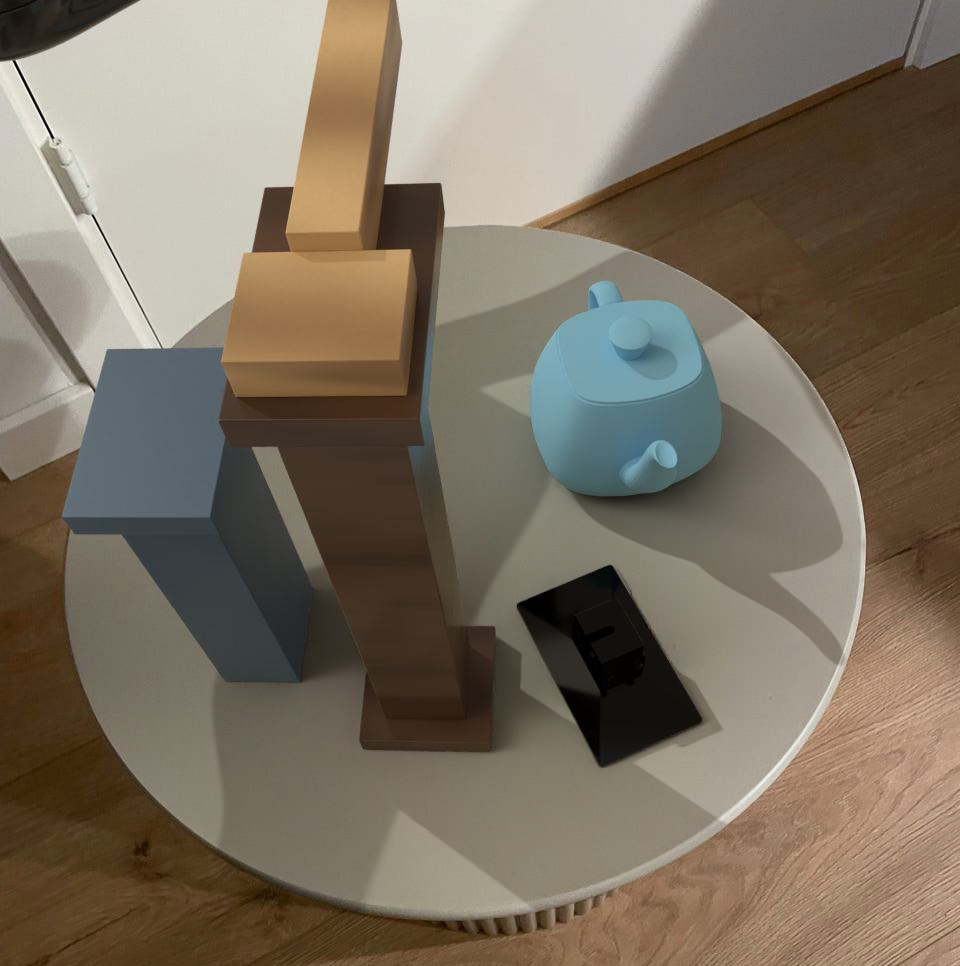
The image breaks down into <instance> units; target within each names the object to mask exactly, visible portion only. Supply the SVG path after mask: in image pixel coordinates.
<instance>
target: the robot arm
mask: <svg viewBox="0 0 960 966" xmlns="http://www.w3.org/2000/svg"><path fill="white" fill-rule="evenodd" d="M140 1H141V0H0V63H5V62H13V61H19V60H23V59H26V58H30V57H32V56H35V55H38V54H41V53H44V52H47V51H49V50H51V49H54V48H56V47H58V46H60V45H62V44H64V43H66V42H68V41H70V40H72V39H74V38H76V37H78V36H80V35H82V34H83V33H85V32H87V31H89V30H91V29H92V28H93V27H96V26H98V25H99V24H101V23H103V22H105V21H106V20H108V19H110V18H111V17H114V16H116V15H117V14H119V13H121V12H123V11H124V10H126V9H127V8H129V7H131V6H133V5H135V4H137V3H139V2H140Z"/></svg>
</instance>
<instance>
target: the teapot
mask: <svg viewBox="0 0 960 966" xmlns="http://www.w3.org/2000/svg"><path fill="white" fill-rule="evenodd" d="M623 299H624V298H623V296H622V293H621V291H620V289H619V286H618V285H617V284H616V283H615V282H614V281H612V280H600V281H597V282H594V283H593V284H592V285H590V287H589V288H588V291H587V310H586V311H583V312H581V313H578V314H576V315H573V316H572V317H569V318H568V319H567V320H565V321H564V322H563V323H561V325H559V327H557V329H556V330H555V332H554V333H553V334H552V335H551V337H550V339H549V340H548V341H547V343H546V345H545V346H544V348H543V350H542V351H541V353H540V355H539V358H538V359H537V361H536V364H535V367H534V369H533V376H532V379H531V383H530V390H529V413H530V419H531V421H530V422H531V427H532V432H533V436H534V440H535V444H536V446H537V448H538V451H539V453H540V455H541V458H542V461H543V463H544V464H545V466H546V469H547V470H548V472H549V474H550V475H551V476H552V478H553V479H555V481H556V482H558V483H559V484H561V485H562V486H563V487H564V488H566V489H567V490H570V491H572V492H573V493H577V494H580V495H585V496H593V497H626V496H635V495H640V494H652V493H656V492H661V491H663V490H666V489H667V488H669V487H670V486H671V485H673V484H676V483H678V482H680V481H682V480H684V479H686V478H688V477H690V476H691V475H694V474H695V473H697V472H698V471H700V470H702V469H703V468H704V467H705V466H707V464H709V463H710V462H711V461H712V459H713V457H714V456H715V455H716V454H717V452H718V449H719V447H720V446H721V445H720V444H721V439H722V430H723V415H722V408H721V400H720V396H719V395H720V394H719V391H718V386H717V381H716V378H715V374H714V371H713V368H712V365H711V362H710V360H709V358H708V355H707V353H706V351H705V348H704V346H703V343H702V342H701V340H700V338H699V335H698V334H697V332H696V330H695V328H694V327H693V325H692V322H691V321H690V319H689V317H688V315H687V314H686V313H685V311H684V310H683V309H682V308H681V307H680V306H678V305H676V304H674V303H672V302H669V301H663V300H654V299H652V300H650V299H649V300H645V299H643V300H629V301H628V300H627V301H624V300H623Z"/></svg>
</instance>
